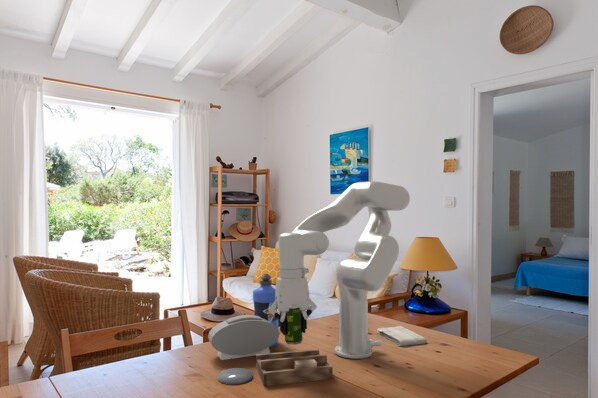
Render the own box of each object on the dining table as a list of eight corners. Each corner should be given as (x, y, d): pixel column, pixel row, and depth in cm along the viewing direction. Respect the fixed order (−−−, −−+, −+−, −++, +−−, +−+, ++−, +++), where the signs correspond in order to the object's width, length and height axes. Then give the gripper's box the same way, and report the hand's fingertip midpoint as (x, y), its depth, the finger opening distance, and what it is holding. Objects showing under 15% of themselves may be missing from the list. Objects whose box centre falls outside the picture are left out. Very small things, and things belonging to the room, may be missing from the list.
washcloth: (400, 331, 174) (400, 323, 174) (428, 344, 157) (428, 336, 157) (374, 334, 169) (374, 326, 170) (400, 348, 153) (400, 339, 153)
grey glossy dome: (250, 369, 132) (250, 366, 132) (255, 382, 122) (255, 379, 122) (216, 372, 129) (216, 369, 129) (219, 386, 120) (219, 383, 120)
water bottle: (247, 343, 157) (247, 274, 157) (268, 338, 163) (268, 271, 163) (263, 349, 150) (263, 277, 150) (284, 343, 156) (284, 274, 156)
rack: (318, 361, 138) (318, 345, 138) (332, 378, 125) (332, 361, 125) (256, 367, 133) (256, 351, 133) (263, 385, 120) (263, 367, 120)
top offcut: (314, 367, 128) (314, 359, 128) (316, 371, 125) (316, 362, 125) (294, 368, 127) (294, 360, 127) (296, 372, 124) (296, 364, 124)
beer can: (292, 338, 136) (291, 299, 136) (306, 341, 133) (305, 302, 132) (281, 342, 132) (280, 303, 132) (294, 346, 128) (293, 305, 128)
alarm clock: (273, 347, 153) (273, 310, 153) (279, 352, 147) (279, 314, 147) (207, 355, 144) (207, 317, 144) (211, 362, 138) (211, 321, 138)
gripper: (315, 269, 138) (316, 326, 138) (261, 273, 134) (263, 332, 134) (322, 273, 131) (324, 333, 131) (266, 277, 126) (268, 339, 126)
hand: (293, 332), depth 132 cm, fingers closed on beer can, 5 cm apart
